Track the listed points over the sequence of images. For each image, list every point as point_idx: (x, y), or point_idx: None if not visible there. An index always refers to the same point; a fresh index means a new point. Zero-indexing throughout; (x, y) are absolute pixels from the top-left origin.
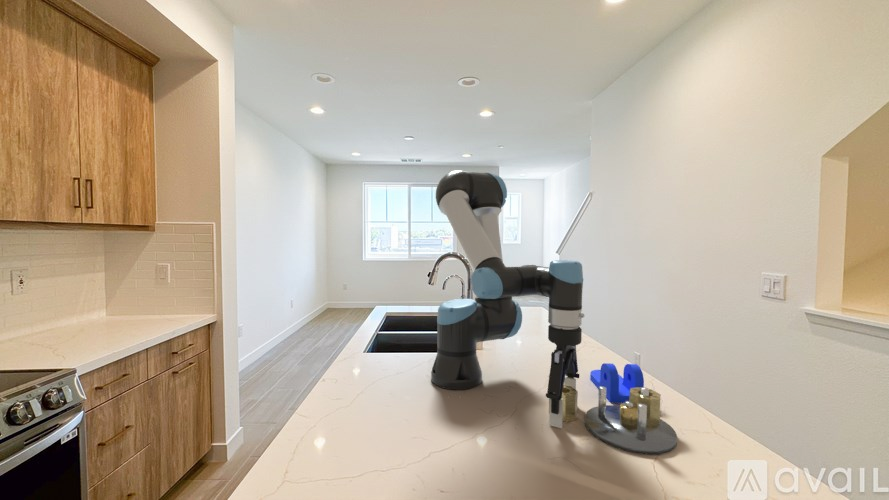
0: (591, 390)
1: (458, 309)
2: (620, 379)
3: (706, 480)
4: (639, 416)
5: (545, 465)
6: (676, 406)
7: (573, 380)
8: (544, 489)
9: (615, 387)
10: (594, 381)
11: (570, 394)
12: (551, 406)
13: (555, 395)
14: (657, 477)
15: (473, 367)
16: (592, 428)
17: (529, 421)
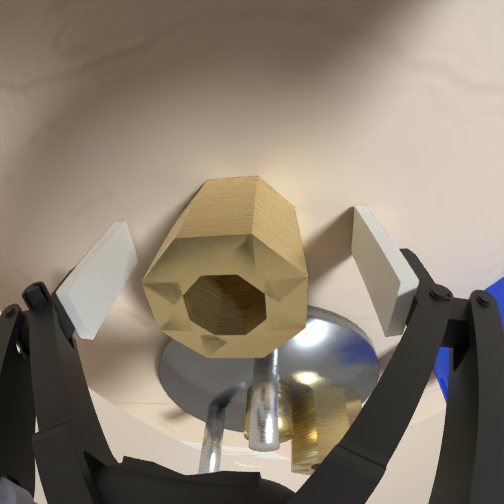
0: (493, 263)
1: None
2: None
3: (185, 434)
4: (201, 452)
5: (3, 271)
6: (433, 402)
7: (386, 323)
8: None
9: (442, 373)
10: None
11: (194, 343)
12: (61, 283)
13: (19, 347)
14: (135, 403)
15: None
16: (175, 342)
17: (91, 148)
